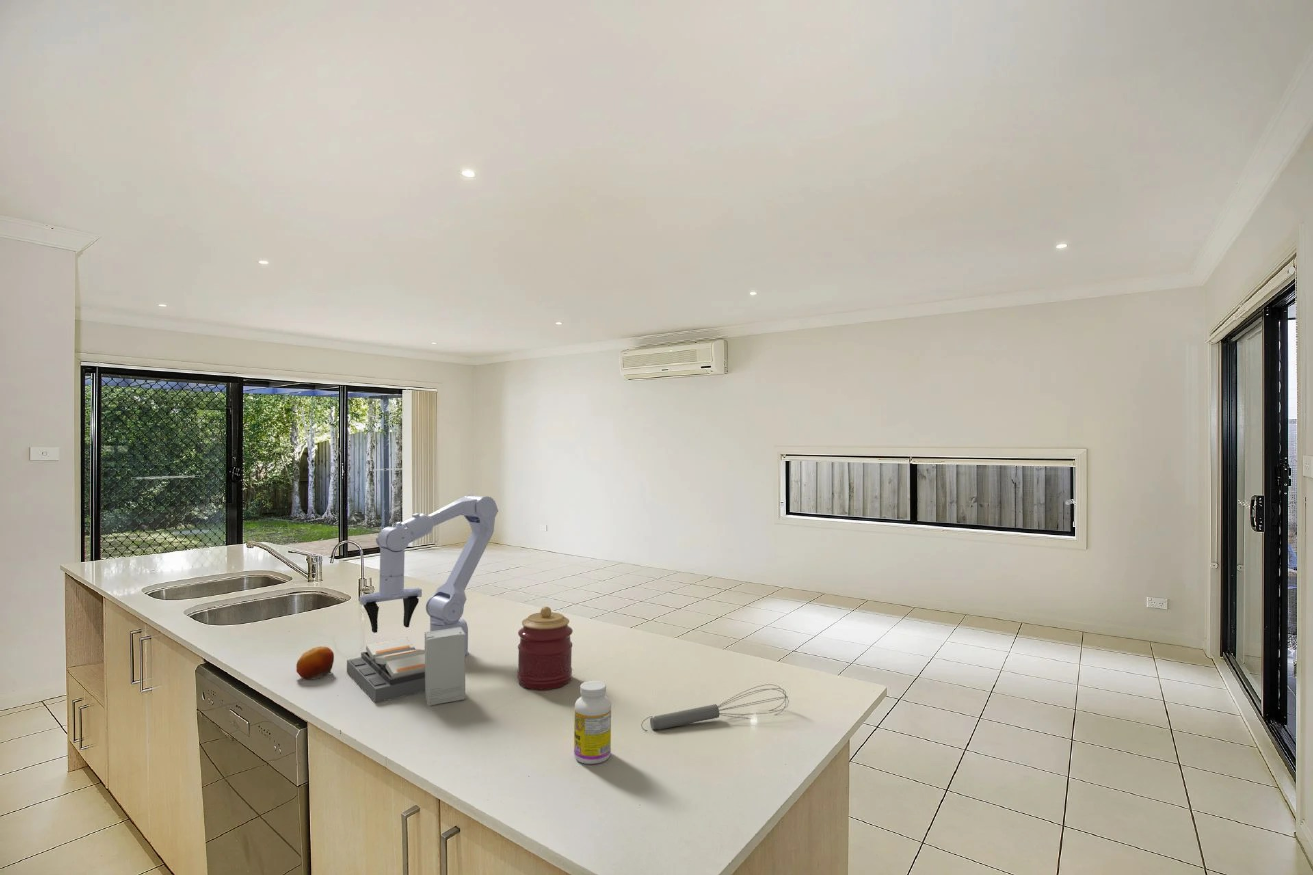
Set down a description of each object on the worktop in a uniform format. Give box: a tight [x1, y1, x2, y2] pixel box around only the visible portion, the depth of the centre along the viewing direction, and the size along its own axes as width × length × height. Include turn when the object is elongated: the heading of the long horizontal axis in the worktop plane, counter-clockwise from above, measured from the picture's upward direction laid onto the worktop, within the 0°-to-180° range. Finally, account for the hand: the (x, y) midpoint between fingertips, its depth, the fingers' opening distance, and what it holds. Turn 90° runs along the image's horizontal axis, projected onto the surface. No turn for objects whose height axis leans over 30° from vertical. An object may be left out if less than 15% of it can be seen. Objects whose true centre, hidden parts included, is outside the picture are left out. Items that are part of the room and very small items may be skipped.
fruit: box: [295, 646, 335, 680], centre depth 149 cm, size 8×8×8 cm
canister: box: [516, 606, 573, 691], centre depth 148 cm, size 13×13×18 cm
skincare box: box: [424, 627, 466, 707], centre depth 137 cm, size 8×6×15 cm
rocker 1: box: [365, 636, 415, 660], centre depth 155 cm, size 10×6×2 cm, turn 130°
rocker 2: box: [386, 654, 425, 679], centre depth 143 cm, size 10×6×2 cm, turn 130°
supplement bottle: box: [573, 680, 612, 765], centre depth 112 cm, size 7×7×13 cm
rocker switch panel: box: [346, 647, 425, 704], centre depth 149 cm, size 15×28×4 cm, turn 40°
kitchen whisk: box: [640, 683, 790, 732], centre depth 127 cm, size 6×33×6 cm, turn 109°
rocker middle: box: [375, 648, 425, 665], centre depth 149 cm, size 10×6×2 cm, turn 130°
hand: (390, 629), depth 155 cm, fingers open, 7 cm apart
